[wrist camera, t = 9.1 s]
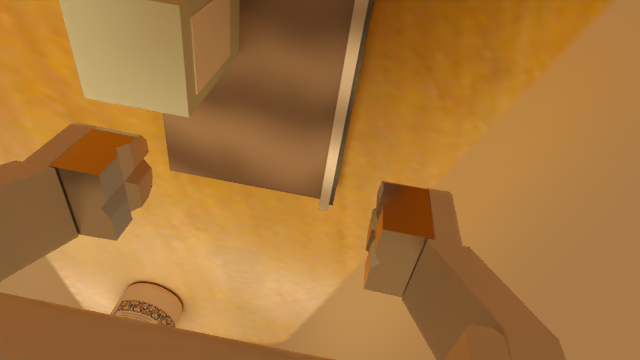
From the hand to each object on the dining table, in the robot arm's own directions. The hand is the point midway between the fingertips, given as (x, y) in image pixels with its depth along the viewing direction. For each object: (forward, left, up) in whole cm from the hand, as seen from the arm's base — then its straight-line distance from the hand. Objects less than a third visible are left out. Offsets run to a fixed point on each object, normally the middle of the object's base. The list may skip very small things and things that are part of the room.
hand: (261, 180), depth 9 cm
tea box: (+2, -8, -17) cm, 18 cm away
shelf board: (+7, -5, -19) cm, 20 cm away
